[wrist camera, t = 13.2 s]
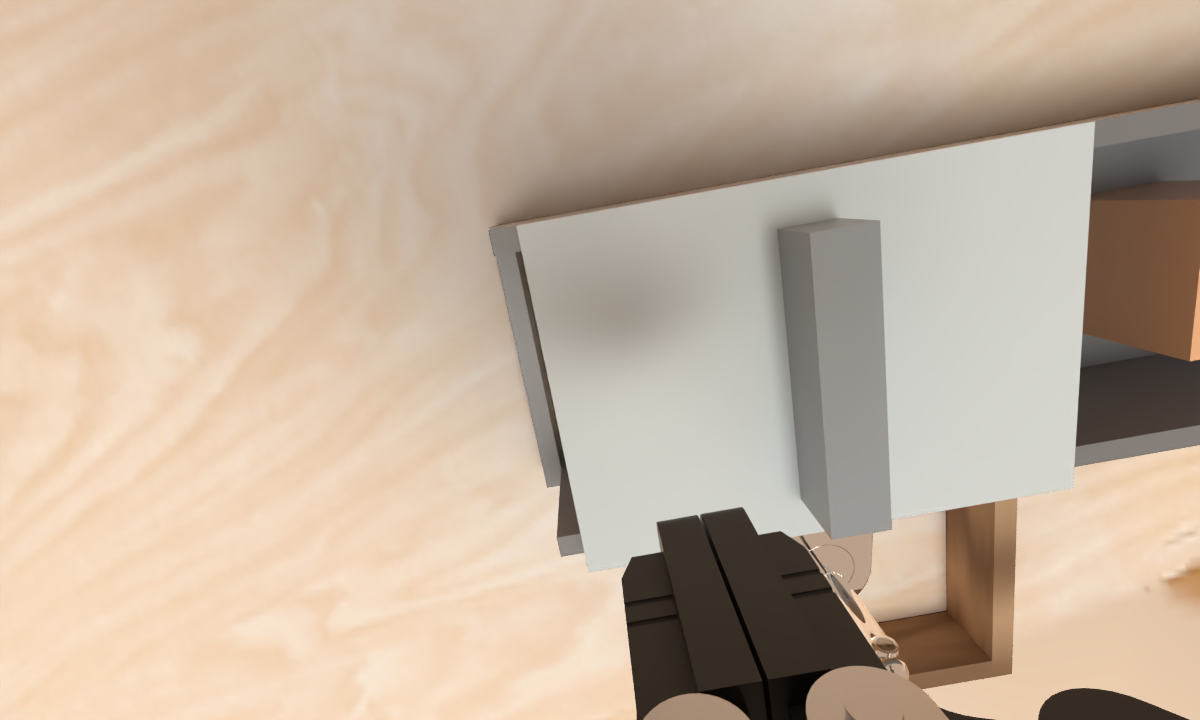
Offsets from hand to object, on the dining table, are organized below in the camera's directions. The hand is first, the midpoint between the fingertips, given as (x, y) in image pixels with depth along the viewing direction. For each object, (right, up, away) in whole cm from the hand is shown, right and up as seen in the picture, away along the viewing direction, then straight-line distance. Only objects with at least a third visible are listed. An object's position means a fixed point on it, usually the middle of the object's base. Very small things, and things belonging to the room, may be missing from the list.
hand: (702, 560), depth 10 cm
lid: (+5, +3, +9) cm, 11 cm away
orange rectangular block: (+21, +8, +15) cm, 27 cm away
